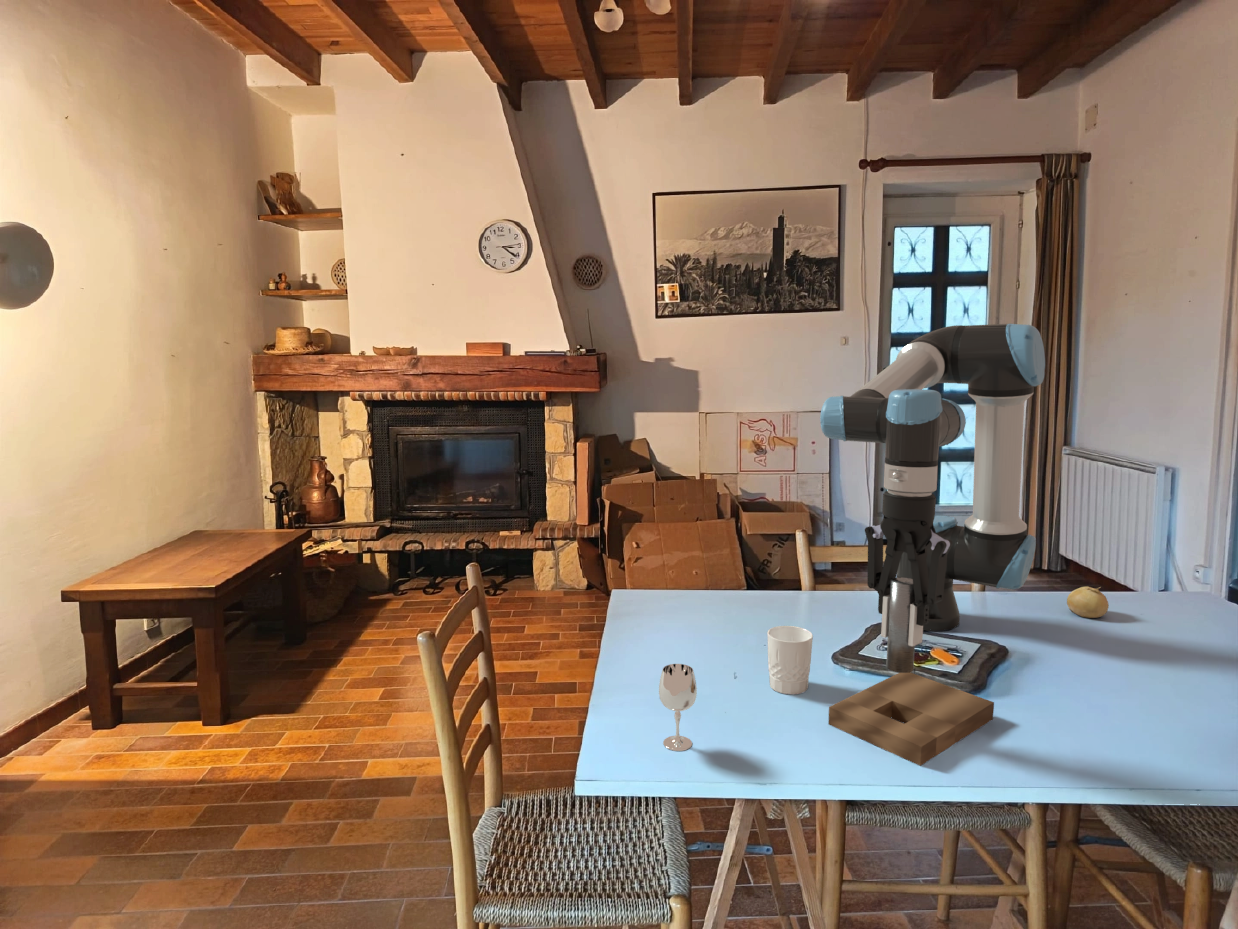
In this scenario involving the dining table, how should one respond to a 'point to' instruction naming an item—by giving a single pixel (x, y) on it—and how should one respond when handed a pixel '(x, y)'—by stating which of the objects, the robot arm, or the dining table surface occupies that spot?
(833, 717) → the socket board
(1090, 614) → the onion
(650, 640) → the dining table surface
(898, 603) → the peg
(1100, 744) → the dining table surface
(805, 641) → the white cup
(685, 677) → the wineglass
